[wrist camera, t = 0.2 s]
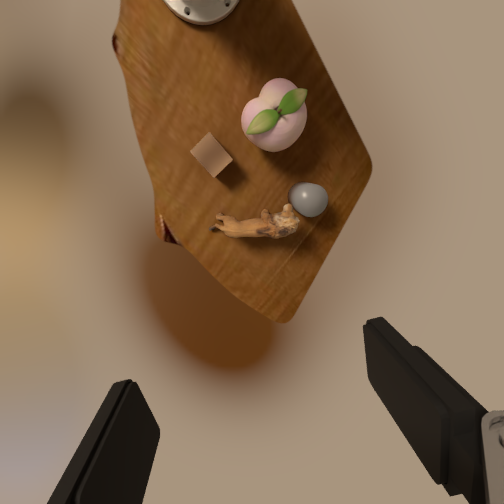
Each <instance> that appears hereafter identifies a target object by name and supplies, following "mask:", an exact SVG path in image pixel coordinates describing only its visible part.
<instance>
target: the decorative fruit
mask: <svg viewBox="0 0 504 504" xmlns="http://www.w3.org/2000/svg"><path fill="white" fill-rule="evenodd" d="M306 96H307V89H303V88H297V87H296V86H295V85H294V84H293V83H292V82H291V81H289V80H287V79H284V78H276V79H273V80H270V81H269V82H267V83H266V84H265V85H264V87H263V88H262V90H261V92H260V95H259V97H258V98H255V99H252V100H251V101H249V102H248V103H247V105H246V106H245V108H244V110H243V113H242V118H241V122H242V128H243V131H244V133H245V135H246V137H247V138H248V139H249V140H250V141H251V142H252V143H253V144H255V145H256V146H258V147H259V148H261V149H263V150H266V151H270V152H277V151H281V150H284V149H286V148H288V147H290V146H291V145H292V144H293V143H294V142H295V141H296V140H297V139H298V138H299V136H300V135H301V133H302V131H303V129H304V127H305V124H306V120H307V108H306V105H305V102H304V101H305V99H306Z"/></svg>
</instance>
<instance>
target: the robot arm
mask: <svg viewBox="0 0 504 504" xmlns="http://www.w3.org/2000/svg"><path fill="white" fill-rule="evenodd" d="M163 1H164V3H165V4H166V5H167V6H168V8H169V9H170V10H171V11H172V12H173V13H175V14H176V15H177V16H178V17H180V18H181V19H183V20H185V21H187V22H190V23H192V24H197V25H211V24H214V23H217V22H219V21H221V20H223V19H224V18H226V17H227V16H228V15H229V14H230V13H231V12H232V11H233V10H234V8H235V7H236V5H237V4H238V2H239V0H163ZM226 5H229V7H226ZM187 13H190V15H187ZM363 333H364V343H365V353H366V363H367V372H368V378H369V381H370V383H371V385H372V387H373V388H374V390H375V391H376V393H377V394H378V396H379V397H380V399H381V400H382V402H383V403H384V405H385V407H386V408H387V410H388V411H389V413H390V414H391V416H392V417H393V419H394V421H395V422H396V424H397V425H398V426H399V428H400V430H401V431H402V433H403V434H404V436H405V438H406V439H407V440H408V442H409V444H410V445H411V447H412V448H413V450H414V451H415V453H416V454H417V456H418V457H419V459H420V461H421V462H422V463H423V465H424V466H425V468H426V470H427V471H428V473H429V474H430V476H431V477H432V479H433V480H434V481H435V483H436V484H438V485H439V484H442V485H443V486H444V488H445V489H446V491H447V492H448V494H449V495H450V496H454V495H458V494H463V495H464V497H465V498H466V500H467V501H468V502H469V504H504V411H491V412H488V411H487V410H486V409H485V408H484V407H483V406H482V405H480V403H479V402H477V401H476V400H475V399H474V398H473V397H472V396H471V395H470V394H469V393H468V392H467V391H466V390H465V389H464V388H463V387H462V386H460V385H459V384H458V383H457V382H456V381H455V380H454V379H453V378H452V377H451V376H450V375H449V374H448V373H446V372H445V370H444V369H442V368H441V367H440V366H439V365H438V364H437V363H436V362H435V361H434V360H433V359H432V358H431V357H430V356H429V355H428V354H427V353H425V352H424V351H423V350H422V349H421V348H419V347H418V346H412V345H411V344H410V343H409V342H408V341H407V340H406V339H405V338H404V337H403V336H402V335H401V334H400V333H399V332H397V331H396V330H395V329H394V328H393V327H392V326H391V325H390V324H389V323H388V322H387V321H386V320H385V319H384V318H383V317H378V318H374V319H370V320H367V322H366V325H363ZM159 438H160V428H159V426H158V424H157V422H156V420H155V418H154V416H153V414H152V412H151V410H150V408H149V406H148V404H147V402H146V400H145V398H144V396H143V394H142V392H141V390H140V388H139V386H138V384H137V383H136V382H133V381H132V380H131V379H128V380H124V381H120V382H116V383H114V384H113V385H112V387H111V389H110V391H109V392H108V394H107V396H106V398H105V400H104V401H103V403H102V405H101V407H100V409H99V410H98V412H97V414H96V416H95V418H94V419H93V421H92V423H91V425H90V427H89V428H88V430H87V432H86V434H85V436H84V437H83V439H82V441H81V443H80V445H79V447H78V448H77V450H76V452H75V454H74V456H73V457H72V459H71V461H70V463H69V465H68V466H67V468H66V470H65V472H64V474H63V475H62V477H61V479H60V481H59V483H58V484H57V486H56V488H55V490H54V492H53V493H52V495H51V497H50V499H49V501H48V503H47V504H142V502H143V498H144V494H145V490H146V486H147V483H148V480H149V476H150V472H151V468H152V464H153V461H154V457H155V453H156V449H157V446H158V442H159Z"/></svg>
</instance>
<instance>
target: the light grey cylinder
mask: <svg viewBox="0 0 504 504" xmlns="http://www.w3.org/2000/svg"><path fill="white" fill-rule="evenodd" d="M288 202H289V204H291V205H292V207H293V208H294V209H295V210H297V211H298V212H299V213H301V214H302V215H304V216H307V217H314V216H317V215H319V214H321V213H322V212H323V211H324V210H325V208H326V206H327V203H328V195H327V193H326V191H325V189H324V188H323V187H321V186H319V185H316V184H312V183H307V182H298V183H296V184H294V185H293V186H292V187H291V189H290V190H289V193H288Z"/></svg>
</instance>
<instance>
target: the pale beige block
mask: <svg viewBox="0 0 504 504" xmlns="http://www.w3.org/2000/svg"><path fill="white" fill-rule="evenodd" d="M190 152H191V153H192V154H193V156H194V157H195V158H196V159H197V160H198V161H199V162H200V163H201V164H202V165H203V167H204V168H205V169H206V170H207V171H208V172H209V173H210V174H211V175H212V176H213V178H214V177H216V176H217V175H218V174H219V173H220V172H221V171H222V170H223V169H224V168H225V167H226V166H227V165H228V164H229V163H230V162H231V161H232V160H233V159H232V158H231V157H230V155H229V154H228V153H227V152H226V151H225V150H224V148H223V147H222V146H221V145H220V144H219V143H218V141H217V140H216V139H215V138H214V137H213V136H212V134H211V133H210V132H209V133H208V134H207V135H206V136H205V137H204V138H203V139H202V140H201V141H200V142H199V143H198V144H197V145H196V146H195V147H194V148H193V149H192V150H191V151H190Z"/></svg>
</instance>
